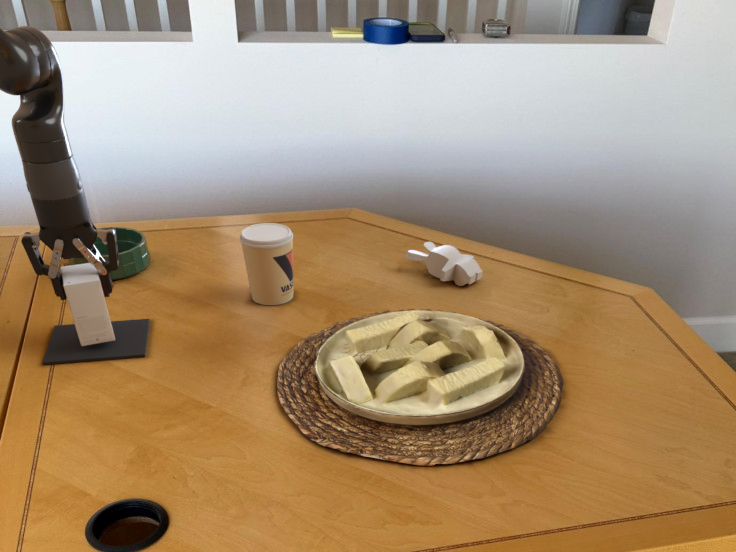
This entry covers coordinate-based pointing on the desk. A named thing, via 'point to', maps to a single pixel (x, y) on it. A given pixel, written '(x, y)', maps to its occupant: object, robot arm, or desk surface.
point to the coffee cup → (269, 262)
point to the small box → (87, 304)
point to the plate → (419, 387)
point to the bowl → (123, 253)
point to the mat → (126, 343)
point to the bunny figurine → (448, 263)
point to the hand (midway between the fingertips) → (85, 296)
